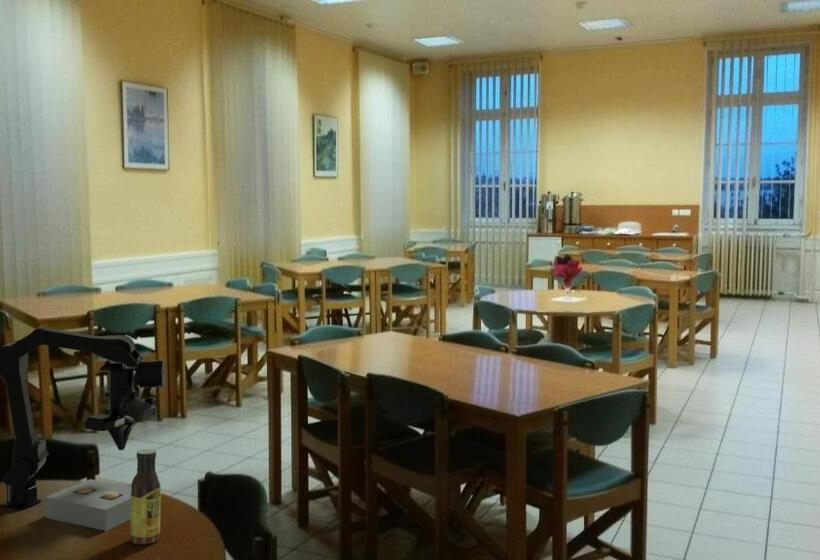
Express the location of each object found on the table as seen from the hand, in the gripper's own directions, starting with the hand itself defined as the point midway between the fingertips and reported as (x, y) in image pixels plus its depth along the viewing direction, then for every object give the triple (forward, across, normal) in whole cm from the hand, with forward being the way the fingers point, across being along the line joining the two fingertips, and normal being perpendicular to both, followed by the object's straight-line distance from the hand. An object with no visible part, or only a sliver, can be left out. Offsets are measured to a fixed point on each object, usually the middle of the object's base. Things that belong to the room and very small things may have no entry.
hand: (121, 449), depth 194 cm
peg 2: (+13, -9, -5) cm, 16 cm away
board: (+13, -9, -1) cm, 16 cm away
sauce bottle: (+13, -16, -21) cm, 30 cm away
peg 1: (+13, -9, +3) cm, 16 cm away
